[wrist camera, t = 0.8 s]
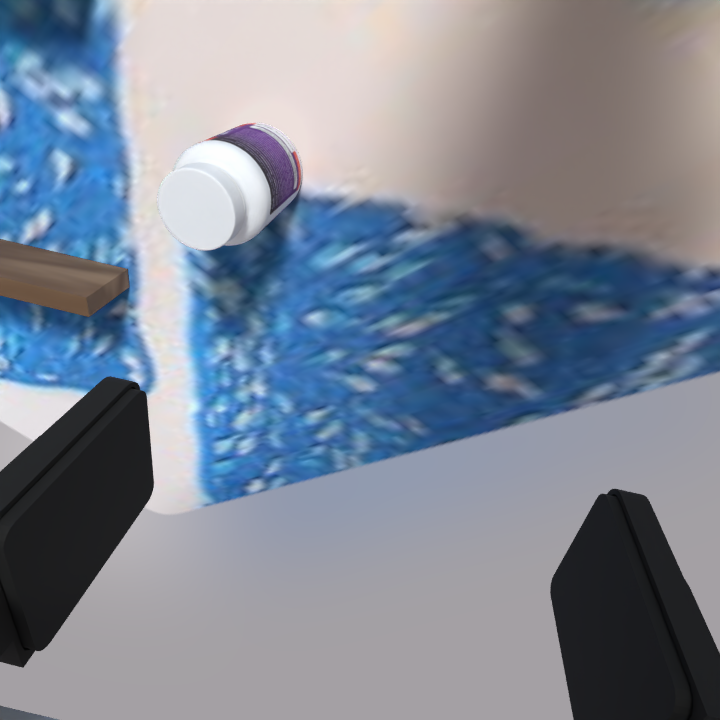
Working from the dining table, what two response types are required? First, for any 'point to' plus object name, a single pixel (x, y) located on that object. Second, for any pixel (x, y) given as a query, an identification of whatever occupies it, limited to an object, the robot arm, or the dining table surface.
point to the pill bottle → (230, 186)
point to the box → (58, 279)
